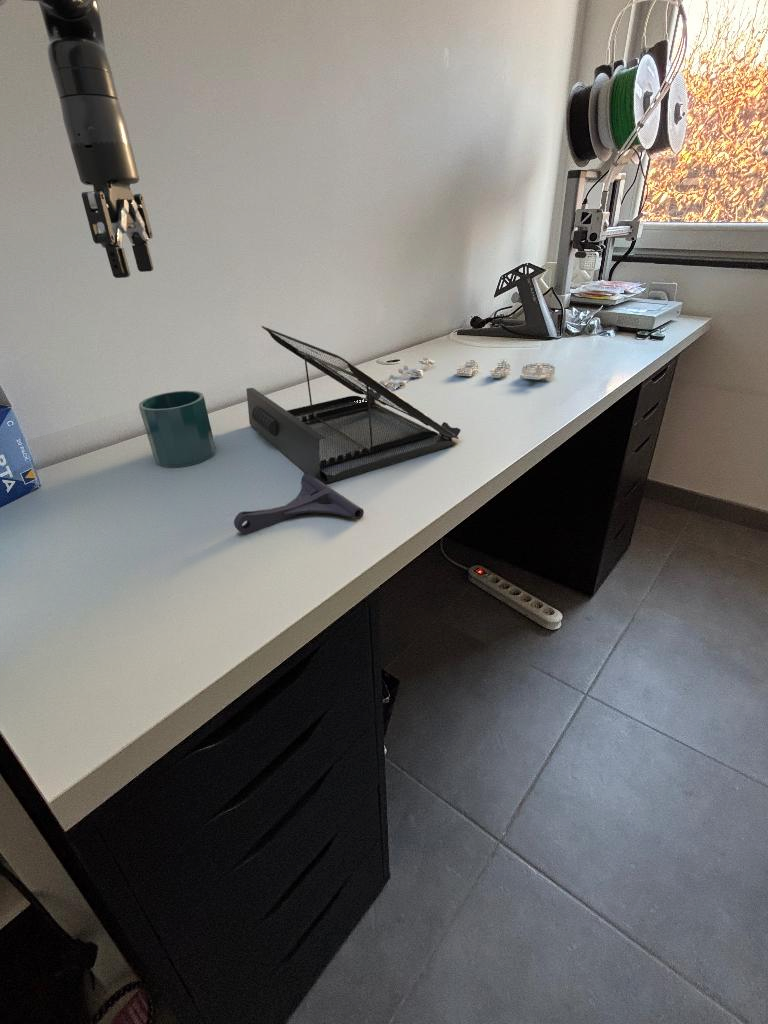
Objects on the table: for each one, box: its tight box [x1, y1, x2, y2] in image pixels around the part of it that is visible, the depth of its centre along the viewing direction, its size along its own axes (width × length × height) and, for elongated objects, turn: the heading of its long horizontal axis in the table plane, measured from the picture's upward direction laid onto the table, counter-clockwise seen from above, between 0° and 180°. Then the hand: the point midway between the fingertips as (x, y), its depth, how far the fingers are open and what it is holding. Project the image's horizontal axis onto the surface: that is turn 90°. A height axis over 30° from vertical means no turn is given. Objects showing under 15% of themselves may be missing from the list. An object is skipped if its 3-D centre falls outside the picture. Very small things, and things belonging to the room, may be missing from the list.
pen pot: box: [138, 390, 217, 469], centre depth 90 cm, size 10×10×10 cm
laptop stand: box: [245, 325, 462, 485], centre depth 93 cm, size 33×28×18 cm
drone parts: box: [379, 357, 556, 391], centre depth 121 cm, size 23×35×3 cm, turn 60°
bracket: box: [233, 473, 365, 535], centre depth 71 cm, size 14×15×3 cm
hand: (134, 274), depth 79 cm, fingers open, 8 cm apart
